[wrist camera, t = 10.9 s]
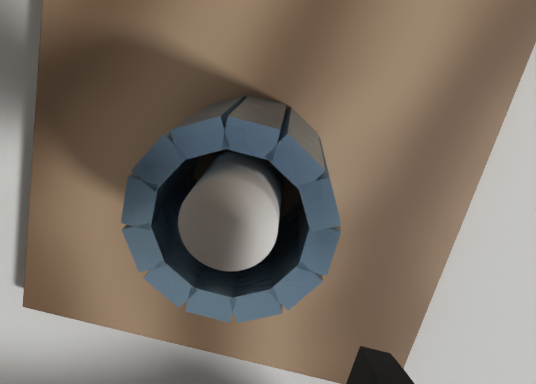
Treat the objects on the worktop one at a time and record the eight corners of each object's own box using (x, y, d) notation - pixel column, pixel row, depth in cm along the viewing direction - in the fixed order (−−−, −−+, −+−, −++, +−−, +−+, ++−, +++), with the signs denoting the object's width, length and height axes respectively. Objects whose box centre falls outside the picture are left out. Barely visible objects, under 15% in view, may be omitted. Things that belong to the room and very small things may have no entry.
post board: (538, -3, 15) (688, -34, 9) (387, 379, 20) (422, 512, 14) (67, -120, 15) (-81, -226, 9) (35, 294, 20) (-71, 394, 14)
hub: (346, 120, 15) (367, 152, 11) (303, 260, 17) (304, 342, 12) (189, 79, 15) (140, 92, 11) (162, 224, 17) (109, 292, 12)
